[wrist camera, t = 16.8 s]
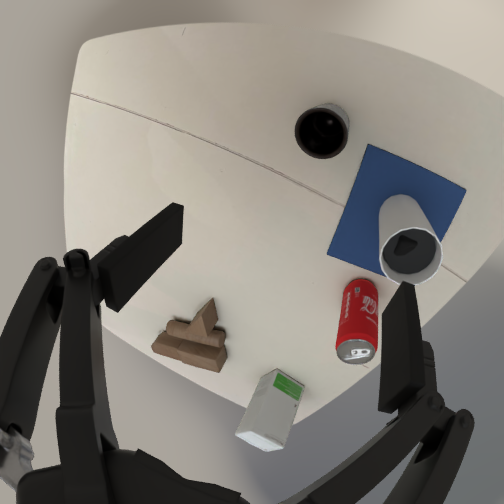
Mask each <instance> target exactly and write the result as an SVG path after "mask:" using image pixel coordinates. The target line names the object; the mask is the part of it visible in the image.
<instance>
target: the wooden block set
mask: <svg viewBox="0 0 504 504" xmlns="http://www.w3.org/2000/svg"><path fill="white" fill-rule="evenodd" d="M217 321H218V317H217V313H216V308H215V304H214V300H213V298H212V299H211V300H210V301H209V302H208V303H207V304H206V305H205V306H204V307H203V308H202V309H201V310H200V311H199V312H198V313H197V314H196V316H195V317H194V319H193V320H192V322H191V323H190V324H186V323H182V322H178V321H174V320H170V321H169V322H168V323H167V326H166V332H162V333H161V334H160V335H159V336H158V337H157V339H156V340H155V341H154V343H153V344H152V345H151V347H152V350H153V352H154V353H157V354H160V355H163V356H167V357H170V358H173V359H176V360H180V361H182V362H183V363H185V364H188V365H192V366H195V367H199V368H203V369H206V370H210V371H214V372H218V373H219V372H220V371H221V369H222V367H223V365H224V363H225V361H226V359H227V354H226V350H225V346H224V345H223V344H224V342H225V333H224V332H223V331H218V330H213V328H214V326H215V324H216V323H217Z"/></svg>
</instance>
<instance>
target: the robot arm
mask: <svg viewBox="0 0 504 504" xmlns="http://www.w3.org/2000/svg"><path fill="white" fill-rule="evenodd" d="M183 211H184V206H183V205H180V204H177V203H171V204H170V205H169V206H167V207H166V208H165V209H163V210H162V211H161V212H159V213H158V214H157V215H156V216H154V217H153V218H152V219H151V220H149V221H148V222H147V223H146V224H144V225H143V226H142V227H141V228H139V229H138V230H137V231H136V232H134V233H133V234H132V235H131V236H129V237H128V236H126V235H123V236H121V237H118V238H116V239H115V240H113V241H112V242H111V243H110V244H109V245H107V246H106V247H105V248H104V249H102V250H101V251H100V252H99V253H98V254H96V255H95V256H94V257H93V258H92V259H91V260H89V255H88V252H87V251H86V250H83V249H74V250H71V251H69V252H67V253H66V254H65V255H64V258H63V261H64V265H65V267H60V266H58V264H57V261H56V259H55V258H52V257H45V258H42V259H41V260H39V261H38V262H37V263H36V265H35V266H34V268H33V270H32V272H31V273H30V275H29V277H28V279H27V281H26V283H25V285H24V287H23V289H22V290H21V293H20V295H19V296H18V299H17V301H16V303H15V305H14V307H13V309H12V311H11V313H10V316H9V318H8V320H7V323H6V325H5V327H4V330H3V332H2V334H1V337H0V478H1V479H2V480H3V481H4V482H5V483H6V484H8V485H9V486H10V487H11V488H12V489H13V490H15V491H16V501H17V502H16V504H250V503H249V502H248V501H246V500H245V499H244V498H242V497H240V495H241V493H239V492H236V491H233V490H230V489H227V488H224V487H221V486H219V485H216V484H211V483H205V482H199V481H193V480H188V479H185V478H183V477H182V476H180V475H179V474H178V473H176V472H175V471H174V470H173V469H171V468H170V467H169V466H167V465H166V464H165V463H164V462H163V461H161V460H159V459H157V458H155V457H153V456H151V455H149V454H147V453H145V452H144V451H142V450H140V449H138V450H137V451H131V450H121V449H119V445H118V441H117V438H116V435H115V433H114V430H113V426H112V421H111V415H110V408H109V402H108V395H107V387H106V378H105V369H104V358H103V344H102V325H101V306H100V303H101V301H102V300H103V299H105V303H106V307H108V308H110V309H112V310H114V311H116V312H117V313H118V312H119V311H120V310H121V309H122V308H123V306H124V305H125V304H126V303H127V302H128V301H129V300H130V299H131V298H132V296H133V295H134V294H135V293H136V292H137V291H138V290H139V289H140V288H141V287H142V285H143V284H144V283H145V282H146V281H147V280H148V279H149V278H150V277H151V276H152V275H153V274H154V273H155V272H156V270H157V269H158V268H159V267H160V266H161V265H162V264H163V263H164V262H165V261H166V260H167V259H168V258H169V257H170V256H171V255H172V254H173V253H174V252H175V251H176V249H177V248H178V247H179V246H180V245H181V244H182V230H183ZM60 325H61V332H60V355H59V357H60V358H59V381H60V382H59V383H60V407H58V408H57V410H56V429H57V439H58V446H59V455H60V462H61V464H60V465H56V466H51V467H47V468H42V469H37V470H33V469H32V466H31V460H33V458H34V452H33V450H32V446H31V444H30V439H31V436H32V433H33V430H34V426H35V421H36V417H37V411H38V406H39V401H40V397H41V392H42V388H43V383H44V380H45V376H46V372H47V368H48V364H49V360H50V357H51V353H52V350H53V347H54V343H55V340H56V337H57V333H58V331H59V327H60ZM397 409H398V416H397V417H396V418H394V419H393V420H391V421H390V422H389V423H387V424H386V425H387V426H385V427H384V428H383V429H382V430H381V431H380V432H379V433H378V434H377V435H376V436H374V437H373V438H372V439H371V440H370V441H368V442H367V443H366V444H365V445H364V446H363V447H362V448H360V449H359V450H358V451H356V452H355V453H354V454H353V455H351V456H350V457H349V458H347V459H346V460H345V461H344V462H342V463H341V464H339V465H338V466H337V467H336V468H334V469H333V470H331V471H330V472H329V473H327V474H326V475H324V476H323V477H321V478H320V479H318V480H317V481H315V482H314V483H313V484H311V485H309V486H308V487H306V488H305V489H303V490H302V491H300V492H298V493H297V494H295V495H293V496H292V497H290V498H288V499H287V500H285V501H283V502H281V503H278V504H355V503H356V502H357V501H359V500H360V499H361V498H362V497H364V496H365V495H366V494H367V493H368V492H369V491H371V490H372V489H373V488H374V487H375V486H376V485H377V484H378V483H379V482H381V481H382V480H383V479H384V478H385V477H386V476H387V475H388V474H389V473H390V472H391V471H392V470H393V469H394V468H395V467H396V466H397V465H398V464H399V463H400V462H401V461H402V460H403V459H404V458H405V457H406V456H407V455H408V453H409V452H410V451H411V450H412V449H413V448H414V447H415V446H416V445H417V444H418V443H419V441H420V444H419V445H418V447H417V449H416V451H415V453H414V455H413V457H412V458H411V460H410V462H409V464H408V466H407V467H406V469H405V471H404V472H403V474H402V476H401V477H400V479H399V480H398V482H397V484H396V485H395V487H394V488H393V490H392V491H391V493H390V494H389V496H388V497H387V499H386V500H385V502H384V503H383V504H443V502H444V500H445V498H446V496H447V494H448V492H449V490H450V488H451V486H452V484H453V481H454V479H455V477H456V474H457V472H458V470H459V467H460V465H461V463H462V460H463V457H464V454H465V452H466V449H467V446H468V444H469V441H470V438H471V435H472V432H473V429H474V418H473V416H472V414H471V413H470V412H469V411H468V410H466V409H461V410H459V411H458V412H457V413H455V412H454V411H452V410H450V409H448V408H447V407H445V402H444V399H443V397H442V396H441V395H440V394H439V393H438V392H437V383H436V372H435V362H434V352H433V349H432V347H431V345H430V343H429V342H427V341H423V340H422V334H421V326H420V319H419V312H418V305H417V299H416V293H415V287H414V284H411V283H408V282H406V281H402V283H401V284H400V286H399V288H398V289H397V291H396V293H395V294H394V296H393V297H392V299H391V301H390V302H389V304H388V305H387V307H386V308H385V310H384V311H383V313H382V350H381V377H380V390H379V403H378V411H381V412H386V413H390V414H392V413H393V412H394V411H395V410H397Z"/></svg>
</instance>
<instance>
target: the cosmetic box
mask: <svg viewBox="0 0 504 504" xmlns="http://www.w3.org/2000/svg"><path fill="white" fill-rule="evenodd" d="M304 388H305V387H304V386H303V385H301V384H299V383H298V382H297V381H295V380H293V379H292V378H290V377H289V376H287V375H286V374H284V373H283V372H281V371H280V370H278V369H275V370H274V371H272V372H270V373H268V374H267V375H265V376H263V377H261V379H260V381H259V383H258V385H257V388H256V390H255V392H254V394H253V397H252V399H251V401H250V403H249V405H248V407H247V410H246V412H245V414H244V416H243V418H242V420H241V422H240V425H239V427H238V429H237V431H236V433H235V435H236V436H238V437H240V438H241V439H243V440H245V441H247V442H248V443H250V444H251V445H254V446H256V447H258V448H260V449H262V450H264V451H266V452H267V451H273V450H278V449H283V448H284V446H285V443H286V440H287V438H288V435H289V432H290V430H291V427H292V424H293V421H294V418H295V415H296V412H297V409H298V406H299V403H300V400H301V397H302V394H303V391H304Z"/></svg>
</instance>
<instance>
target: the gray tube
mask: <svg viewBox="0 0 504 504" xmlns="http://www.w3.org/2000/svg"><path fill="white" fill-rule="evenodd" d="M348 132H349V118H348V116H347V114H346V112H345V111H344V110H343V109H342V108H341V107H340V106H338V105H335V104H331V103H325V104H322V105H319V106H316V107H314V108H311V109H309V110H307V111H305V112H304V113H303V114H302V115H301V116H300V117H299V118H298V120H297V122H296V125H295V138H296V141H297V143H298V145H299V147H300V148H301V149H302V150H303V151H304V152H305V153H306V154H308V155H309V156H311V157H314V158H318V159H328V158H332V157H334V156H336V155H338V154H339V153H340V152H341V151H342V150H343V149H344V147H345V146H346V143H347V140H348Z"/></svg>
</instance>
